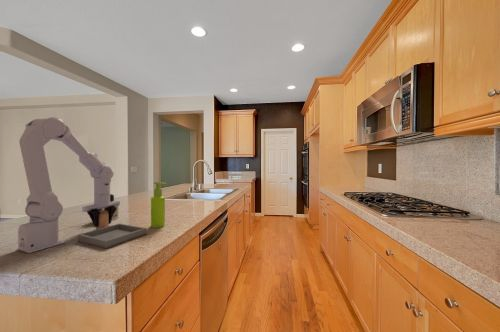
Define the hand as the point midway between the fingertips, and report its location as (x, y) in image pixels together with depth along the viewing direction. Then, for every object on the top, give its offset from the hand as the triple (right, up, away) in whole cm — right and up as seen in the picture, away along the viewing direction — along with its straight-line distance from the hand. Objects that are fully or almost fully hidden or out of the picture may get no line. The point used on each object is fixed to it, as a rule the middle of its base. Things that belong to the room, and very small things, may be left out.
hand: (102, 225), depth 93 cm
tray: (+12, -2, -11) cm, 16 cm away
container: (-8, -2, +14) cm, 17 cm away
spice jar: (0, -2, 0) cm, 2 cm away
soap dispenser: (+22, -2, +6) cm, 23 cm away
